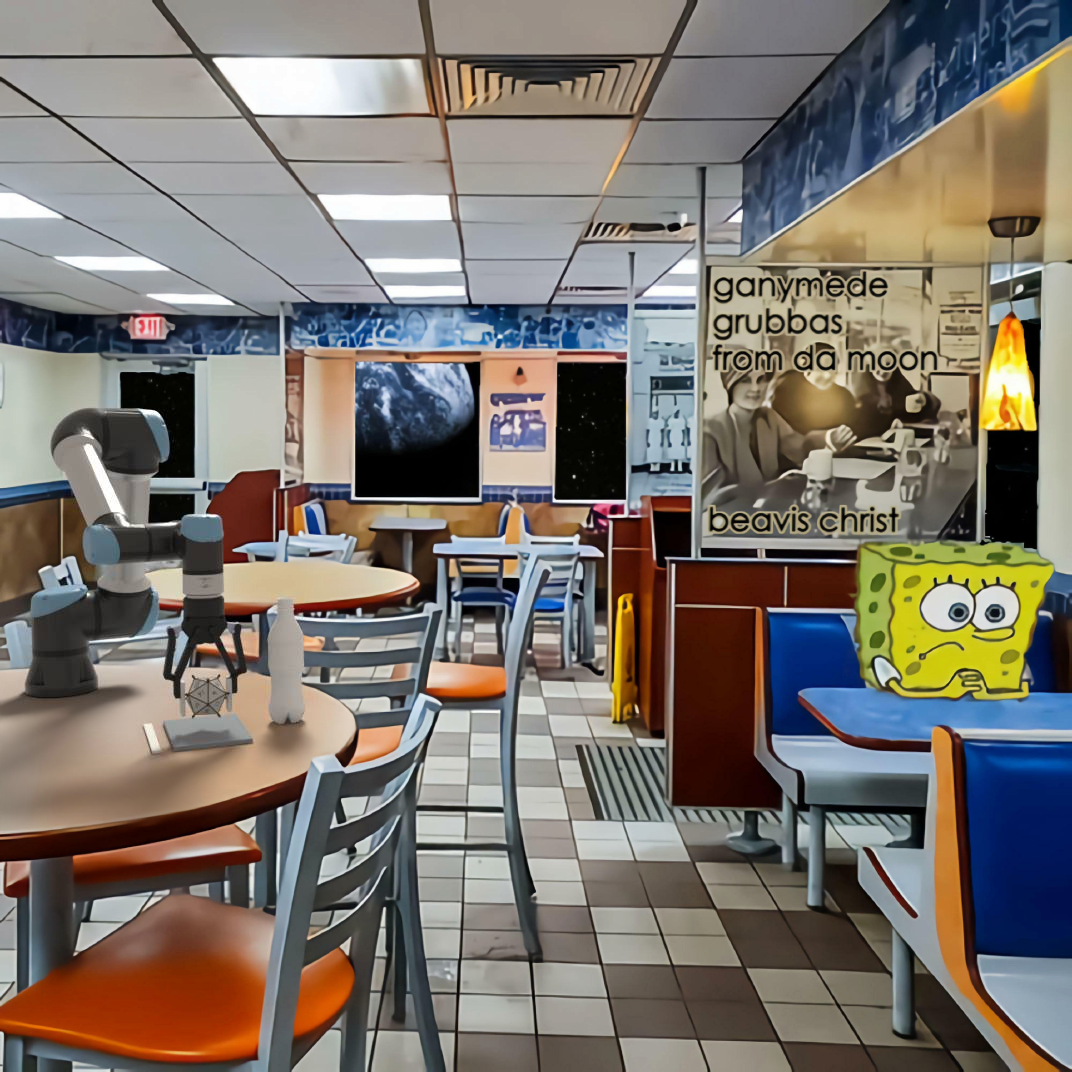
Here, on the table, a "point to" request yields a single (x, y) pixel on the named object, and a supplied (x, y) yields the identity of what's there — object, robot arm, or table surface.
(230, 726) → the mat
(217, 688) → the game die
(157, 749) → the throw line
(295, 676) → the water bottle
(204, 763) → the table surface
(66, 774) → the table surface
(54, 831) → the table surface
